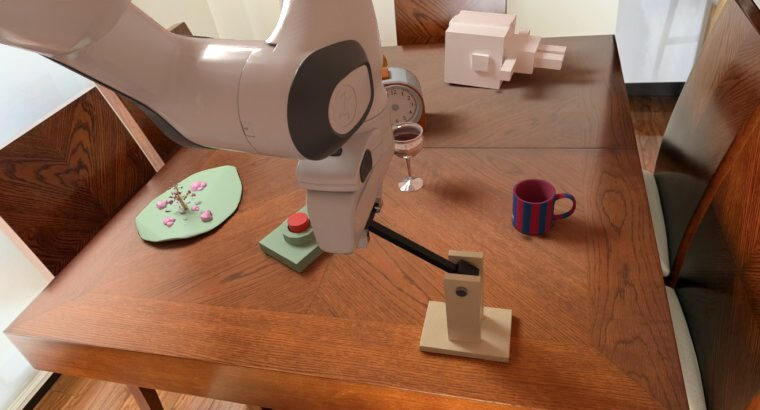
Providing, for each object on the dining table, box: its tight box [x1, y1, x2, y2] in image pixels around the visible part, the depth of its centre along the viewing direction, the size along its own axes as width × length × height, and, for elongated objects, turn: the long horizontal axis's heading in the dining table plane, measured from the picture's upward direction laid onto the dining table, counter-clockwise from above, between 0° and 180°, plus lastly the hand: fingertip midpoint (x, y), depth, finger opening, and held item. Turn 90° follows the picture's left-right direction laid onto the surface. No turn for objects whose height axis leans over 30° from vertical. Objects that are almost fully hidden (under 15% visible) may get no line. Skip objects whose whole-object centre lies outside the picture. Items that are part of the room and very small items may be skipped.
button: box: [287, 212, 310, 233], centre depth 87 cm, size 4×4×2 cm
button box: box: [258, 204, 325, 274], centre depth 89 cm, size 12×10×4 cm
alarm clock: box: [381, 66, 428, 132], centre depth 112 cm, size 15×8×14 cm, turn 92°
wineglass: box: [392, 122, 425, 193], centre depth 95 cm, size 7×7×12 cm
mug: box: [511, 178, 577, 236], centre depth 83 cm, size 7×10×7 cm
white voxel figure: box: [443, 9, 567, 90], centre depth 124 cm, size 15×25×28 cm
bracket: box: [418, 249, 513, 364], centre depth 67 cm, size 12×8×14 cm, turn 76°
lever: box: [364, 208, 479, 276], centre depth 62 cm, size 16×5×2 cm
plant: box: [134, 164, 243, 243], centre depth 101 cm, size 25×21×9 cm
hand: (368, 226), depth 62 cm, fingers closed on lever, 5 cm apart
